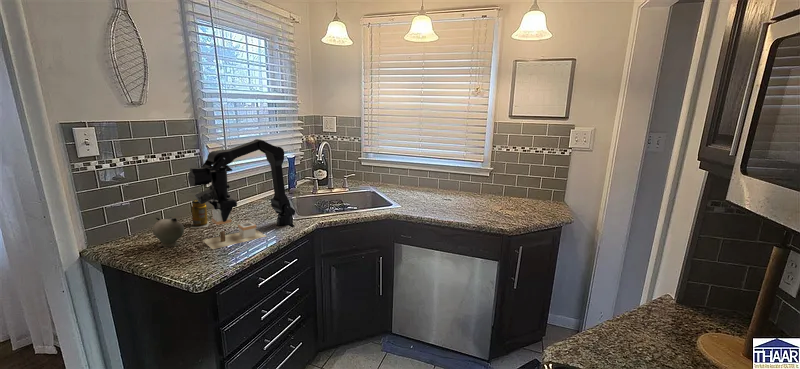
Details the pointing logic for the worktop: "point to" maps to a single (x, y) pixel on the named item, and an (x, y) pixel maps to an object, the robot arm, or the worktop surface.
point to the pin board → (230, 239)
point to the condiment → (199, 215)
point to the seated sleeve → (247, 230)
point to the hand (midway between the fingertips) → (221, 219)
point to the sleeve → (219, 217)
